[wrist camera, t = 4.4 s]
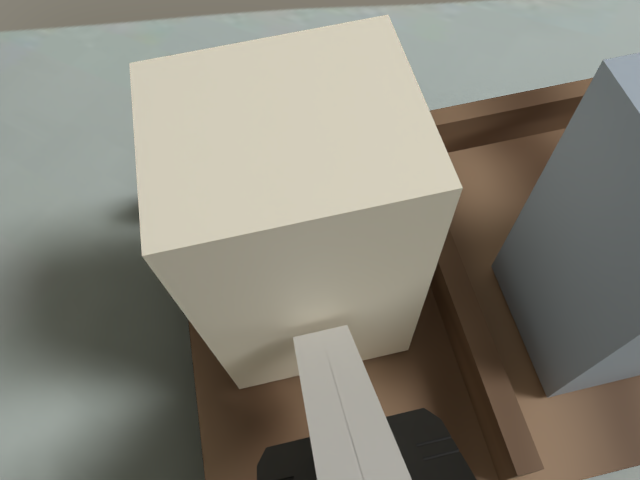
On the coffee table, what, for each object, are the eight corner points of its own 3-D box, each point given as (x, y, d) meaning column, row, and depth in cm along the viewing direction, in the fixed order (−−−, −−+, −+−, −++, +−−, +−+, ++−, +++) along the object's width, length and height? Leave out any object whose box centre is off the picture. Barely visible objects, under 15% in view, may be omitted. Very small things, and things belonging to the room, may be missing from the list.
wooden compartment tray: (225, 570, 17) (198, 578, 14) (184, 212, 24) (160, 164, 21) (1022, 367, 19) (1150, 335, 16) (777, 88, 26) (834, 29, 23)
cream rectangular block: (239, 389, 18) (141, 256, 10) (220, 262, 21) (129, 62, 12) (408, 350, 19) (462, 188, 10) (370, 230, 21) (388, 14, 12)
